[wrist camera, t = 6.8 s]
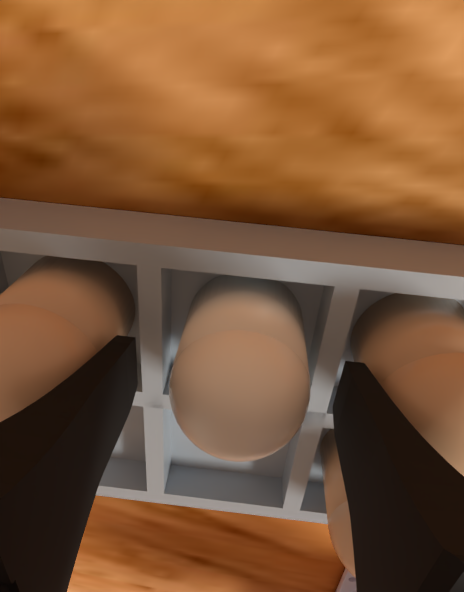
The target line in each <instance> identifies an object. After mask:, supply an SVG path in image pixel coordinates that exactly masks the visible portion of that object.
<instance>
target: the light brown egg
mask: <svg viewBox="0 0 464 592" xmlns="http://www.w3.org/2000/svg"><path fill="white" fill-rule="evenodd" d="M169 398H170V403H171V408H172V412H173V414H174V417H175V419H176V422H177V424H178V425H179V427H180V428H181V430H182V432H183V433H184V434H185V436H186V437H187V438H188V439H189V440H190V441H191V442H192V443H193V444H194V445H195V446H196V447H198V448H199V449H200V450H202V451H204V452H205V453H207V454H209V455H211V456H213V457H216V458H219V459H222V460H226V461H233V462H247V461H254V460H258V459H261V458H264V457H267V456H269V455H271V454H273V453H275V452H276V451H278V450H279V449H281V448H282V447H284V446H285V445H286V444H287V443H288V442H289V441H290V440H291V439H292V438H293V437H294V436H295V434H296V433H297V432H298V430H299V428H300V427H301V425H302V423H303V421H304V419H305V416H306V413H307V411H308V407H309V401H310V375H309V367H308V359H307V350H306V342H305V334H304V325H303V317H302V311H301V308H300V305H299V303H298V301H297V299H296V297H295V296H294V294H293V293H292V292H291V291H290V290H289V289H288V288H287V287H286V286H285V285H284V284H282V283H281V282H279V281H278V280H270V279H261V278H251V277H242V276H233V275H221V276H218V277H216V278H214V279H212V280H211V281H209V282H207V283H206V284H205V285H204V286H202V288H201V289H200V290H199V291H198V292H197V293H196V295H195V296H194V298H193V300H192V302H191V306H190V309H189V312H188V316H187V319H186V323H185V326H184V329H183V333H182V336H181V340H180V343H179V346H178V350H177V353H176V357H175V360H174V363H173V367H172V370H171V375H170V381H169Z"/></svg>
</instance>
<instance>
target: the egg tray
mask: <svg viewBox="0 0 464 592" xmlns="http://www.w3.org/2000/svg"><path fill="white" fill-rule="evenodd" d="M44 256H55V257H64V258H74V259H83V260H92V261H102V262H104V263H105V264H107V265H108V266H110V267H111V268H112V269H113V270H115V271H116V272H117V273H118V274H119V275H120V276H121V277H122V278H123V280H124V281H125V282H126V284H127V285H128V287H129V289H130V291H131V293H132V295H133V299H134V302H135V319H134V323H133V326H132V328H131V330H130V332H129V334H128V336H129V337H136V356H137V374H138V386H137V390H136V393H135V397H134V400H133V404H132V407H131V410H130V413H129V415H128V418H127V420H126V422H125V425H124V427H123V429H122V432H121V434H120V436H119V439H118V441H117V443H116V445H115V448H114V450H113V452H112V455H111V457H110V459H109V461H108V464H107V466H106V468H105V471H104V473H103V476H102V478H101V481H100V483H99V486H98V489H97V492H96V495H98V496H106V497H114V498H122V499H130V500H138V501H146V502H154V503H162V504H170V505H178V506H186V507H194V508H202V509H210V510H218V511H226V512H234V513H242V514H250V515H258V516H267V517H275V518H283V519H291V520H299V521H307V522H315V523H323V524H328V520H327V511H326V502H325V493H324V484H323V475H322V466H321V457H320V444H321V441H322V439H323V437H324V436H325V435H326V433H327V432H328V431H329V430H330V429H334V423H333V403H334V399H335V396H336V392H337V389H338V385H339V381H340V378H341V374H342V371H343V367H344V364H345V361H352V362H354V360H353V356H352V352H351V346H350V338H351V333H352V330H353V327H354V325H355V323H356V322H357V320H358V319H359V317H360V316H361V315H362V314H363V313H364V311H365V310H366V309H368V308H369V307H370V306H371V305H372V304H374V303H375V302H377V301H378V300H380V299H382V298H384V297H386V296H389V295H391V294H394V293H401V294H410V295H420V296H429V297H438V298H448V299H455V300H456V301H458V302H459V303H460V304H461V305H462V306H463V308H464V245H455V244H446V243H436V242H426V241H417V240H407V239H397V238H387V237H378V236H368V235H358V234H349V233H339V232H329V231H319V230H310V229H300V228H290V227H281V226H271V225H261V224H251V223H242V222H232V221H222V220H213V219H203V218H193V217H183V216H174V215H164V214H154V213H145V212H135V211H125V210H115V209H106V208H96V207H86V206H77V205H67V204H57V203H47V202H38V201H28V200H18V199H9V198H0V294H2V293H3V292H4V291H5V290H6V289H7V288H8V287H9V286H10V285H11V284H13V283H14V282H15V281H16V280H17V279H18V278H19V277H20V276H21V275H22V274H23V273H25V272H26V271H27V270H28V269H29V268H30V267H31V266H32V265H33V264H34V263H36V262H37V261H38V260H39V259H41V258H43V257H44ZM221 275H233V276H242V277H251V278H261V279H270V280H278V281H279V282H281V283H282V284H284V285H285V286H286V287H287V288H288V289H289V290H290V291H291V292H292V293H293V294H294V296H295V297H296V299H297V301H298V303H299V305H300V308H301V311H302V317H303V325H304V334H305V342H306V350H307V359H308V367H309V375H310V401H309V407H308V411H307V413H306V416H305V419H304V421H303V423H302V425H301V427H300V428H299V430H298V432H297V433H296V434H295V436H294V437H293V438H292V439H291V440H290V441H289V442H288V443H287V444H286V445H285V446H284V447H282V448H281V449H279V450H278V451H276V452H275V453H273V454H271V455H269V456H267V457H264V458H261V459H258V460H254V461H247V462H233V461H226V460H222V459H219V458H216V457H213V456H211V455H209V454H207V453H205V452H204V451H202V450H200V449H199V448H198V447H196V446H195V445H194V444H193V443H192V442H191V441H190V440H189V439H188V438H187V437H186V436H185V434H184V433H183V432H182V430H181V428H180V427H179V425H178V424H177V422H176V419H175V417H174V414H173V412H172V408H171V403H170V398H169V381H170V375H171V370H172V367H173V363H174V360H175V357H176V353H177V350H178V346H179V343H180V340H181V336H182V333H183V329H184V326H185V323H186V319H187V316H188V312H189V309H190V306H191V302H192V300H193V298H194V296H195V295H196V293H197V292H198V291H199V290H200V289H201V288H202V286H204V285H205V284H206V283H207V282H209V281H211V280H212V279H214V278H216V277H218V276H221Z"/></svg>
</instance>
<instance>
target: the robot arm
mask: <svg viewBox="0 0 464 592" xmlns="http://www.w3.org/2000/svg"><path fill="white" fill-rule="evenodd" d="M137 386H138V374H137V356H136V337H129V336H120V335H117V336H115V337H114V338H113V339H112V340H111V341H110V342H108V343H107V344H106V345H105V346H104V347H103V348H102V349H101V350H100V351H98V352H97V353H96V354H95V355H94V356H93V357H92V358H91V359H89V360H88V361H87V362H86V363H85V364H84V365H82V366H81V367H80V368H79V369H78V370H76V371H75V372H74V373H73V374H72V375H70V376H69V377H68V378H67V379H65V380H64V381H63V382H61V383H60V384H59V385H57V386H56V387H55V388H54V389H52V390H51V391H50V392H48V393H47V394H45V395H44V396H42V397H41V398H40V399H38V400H37V401H35V402H34V403H32V404H30V405H29V406H27V407H26V408H24V409H23V410H21V411H19V412H18V413H16V414H14V415H12V416H10V417H9V418H7V419H5V420H3V421H1V422H0V592H67V589H68V585H69V581H70V578H71V574H72V571H73V567H74V564H75V560H76V557H77V553H78V550H79V546H80V543H81V540H82V537H83V533H84V530H85V527H86V523H87V520H88V517H89V514H90V511H91V508H92V504H93V501H94V498H95V495H96V492H97V489H98V486H99V483H100V481H101V478H102V476H103V473H104V471H105V468H106V466H107V464H108V461H109V459H110V457H111V455H112V452H113V450H114V448H115V445H116V443H117V441H118V439H119V436H120V434H121V432H122V429H123V427H124V425H125V422H126V420H127V418H128V415H129V413H130V410H131V407H132V404H133V400H134V397H135V393H136V390H137ZM333 423H334V435H335V441H336V446H337V451H338V456H339V461H340V466H341V471H342V476H343V481H344V486H345V491H346V496H347V501H348V507H349V513H350V521H351V531H352V541H353V551H354V563H355V575H356V578H355V577H354V576H353V575H352V574H351V573H350V572H349V571H348V570H347V569H346V568H345V571H344V573H343V576H342V578H341V580H340V583H339V585H338V587H337V590H336V592H464V476H463V475H462V474H460V473H459V472H458V471H457V470H456V469H455V468H454V467H453V466H452V465H450V464H449V463H448V462H447V461H446V460H445V459H444V458H443V457H442V456H441V455H440V454H439V453H438V452H437V451H436V450H435V449H434V448H433V447H432V446H431V445H430V444H429V443H428V442H427V441H426V440H425V439H424V438H423V437H422V435H421V434H420V433H419V432H418V431H417V430H416V429H415V428H414V426H413V425H412V424H411V423H410V422H409V421H408V420H407V418H406V417H405V416H404V415H403V413H402V412H401V411H400V410H399V408H398V407H397V406H396V405H395V403H394V402H393V401H392V399H391V398H390V397H389V396H388V394H387V393H386V392H385V390H384V389H383V387H382V386H381V385H380V383H379V382H378V381H377V379H376V378H375V377H374V375H373V374H372V372H371V371H370V370H369V368H368V367H367V366H366V364H365V363H361V362H352V361H345V364H344V367H343V371H342V374H341V378H340V381H339V385H338V389H337V392H336V396H335V399H334V403H333Z"/></svg>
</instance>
